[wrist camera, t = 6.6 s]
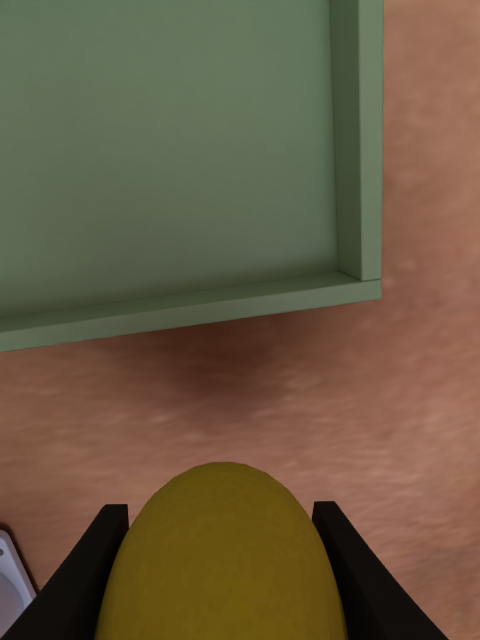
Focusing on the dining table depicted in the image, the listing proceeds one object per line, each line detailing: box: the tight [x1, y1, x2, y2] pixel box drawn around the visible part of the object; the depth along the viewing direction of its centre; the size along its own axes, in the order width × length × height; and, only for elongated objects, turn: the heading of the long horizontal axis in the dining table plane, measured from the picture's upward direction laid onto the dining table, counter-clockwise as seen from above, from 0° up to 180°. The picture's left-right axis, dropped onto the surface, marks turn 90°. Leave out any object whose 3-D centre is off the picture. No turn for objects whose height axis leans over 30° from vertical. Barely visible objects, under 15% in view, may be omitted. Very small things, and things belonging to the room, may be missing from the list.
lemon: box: [94, 462, 349, 640], centre depth 8 cm, size 6×6×8 cm
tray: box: [0, 0, 384, 352], centre depth 10 cm, size 11×17×3 cm, turn 97°
